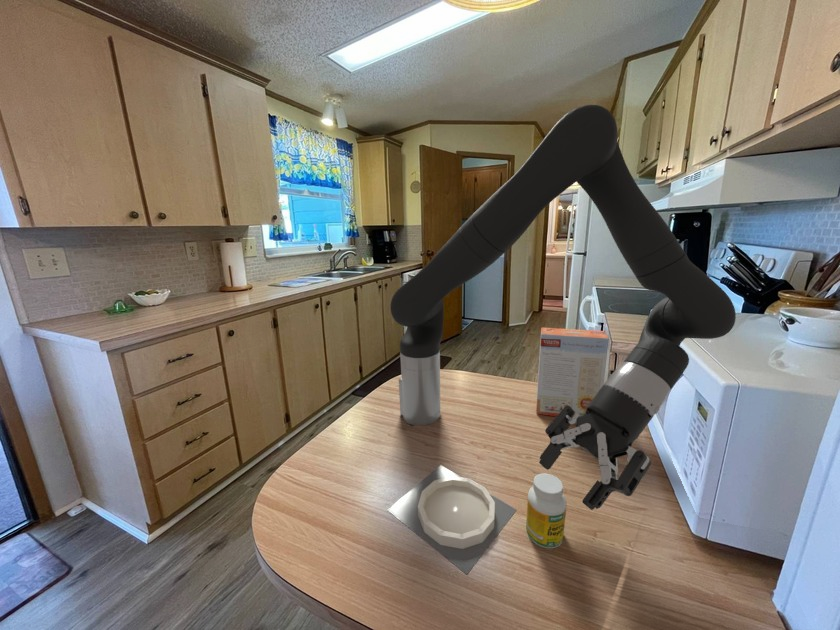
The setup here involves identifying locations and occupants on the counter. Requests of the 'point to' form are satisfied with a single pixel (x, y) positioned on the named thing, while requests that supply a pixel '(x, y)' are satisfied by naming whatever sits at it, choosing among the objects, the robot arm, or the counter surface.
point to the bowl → (456, 512)
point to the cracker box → (570, 369)
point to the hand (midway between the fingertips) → (563, 485)
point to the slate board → (459, 557)
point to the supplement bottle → (546, 511)
